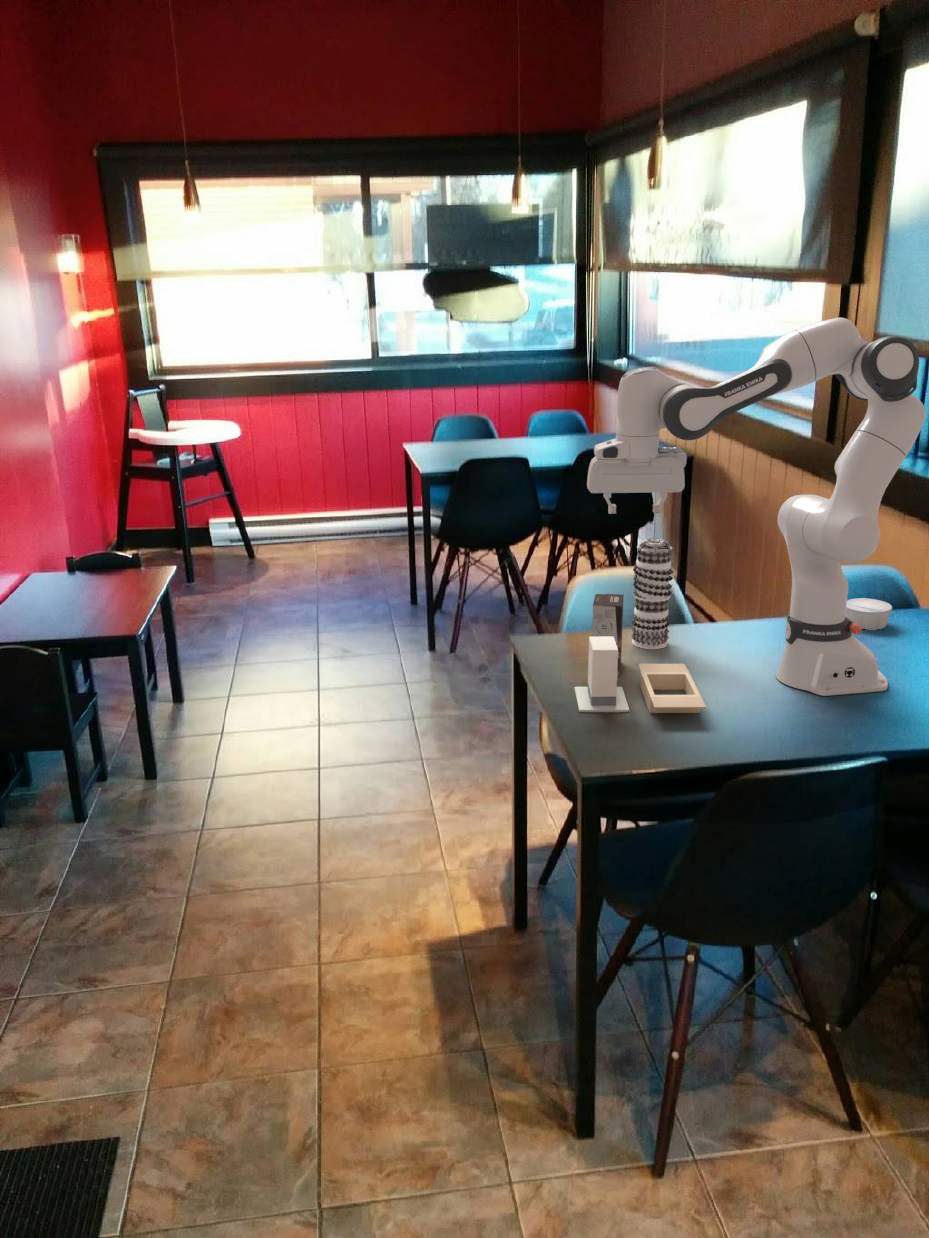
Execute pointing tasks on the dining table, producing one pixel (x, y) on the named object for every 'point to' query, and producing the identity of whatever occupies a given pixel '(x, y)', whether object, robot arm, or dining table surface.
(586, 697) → the white rectangular plate
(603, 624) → the coffee box
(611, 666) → the cream box
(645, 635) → the decorative candle
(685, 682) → the beige hollow rectangular block
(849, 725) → the dining table surface
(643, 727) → the dining table surface
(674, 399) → the robot arm
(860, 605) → the ramekin
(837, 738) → the dining table surface
